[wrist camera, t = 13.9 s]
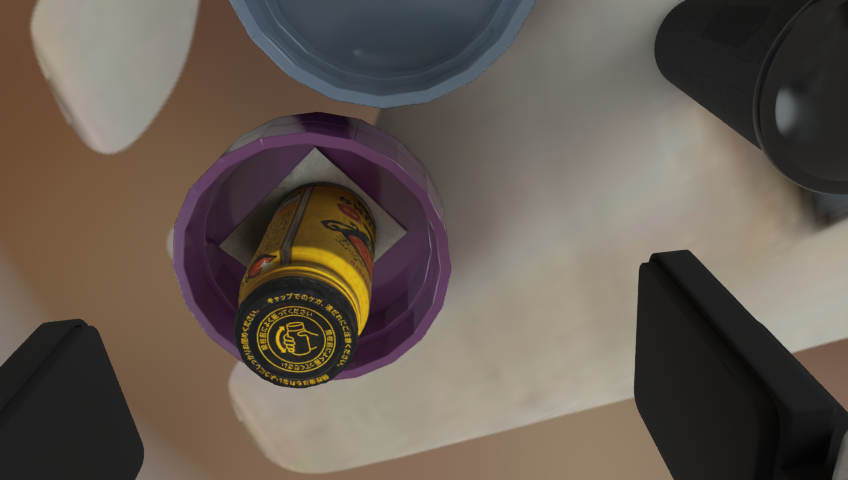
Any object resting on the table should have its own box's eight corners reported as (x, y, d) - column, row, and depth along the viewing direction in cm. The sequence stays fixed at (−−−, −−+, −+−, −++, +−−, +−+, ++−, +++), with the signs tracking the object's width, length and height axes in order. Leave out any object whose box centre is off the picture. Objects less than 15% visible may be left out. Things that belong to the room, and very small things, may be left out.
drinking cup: (631, 126, 35) (877, 298, 17) (623, -17, 32) (911, 6, 14) (767, 99, 35) (1168, 245, 17) (772, -49, 32) (1268, -67, 14)
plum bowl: (171, 129, 35) (135, 154, 30) (428, 95, 34) (432, 114, 30) (235, 347, 40) (214, 395, 36) (456, 319, 40) (462, 364, 36)
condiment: (407, 230, 37) (410, 342, 26) (312, 318, 39) (277, 455, 28) (315, 146, 35) (275, 228, 24) (219, 244, 37) (143, 361, 26)
